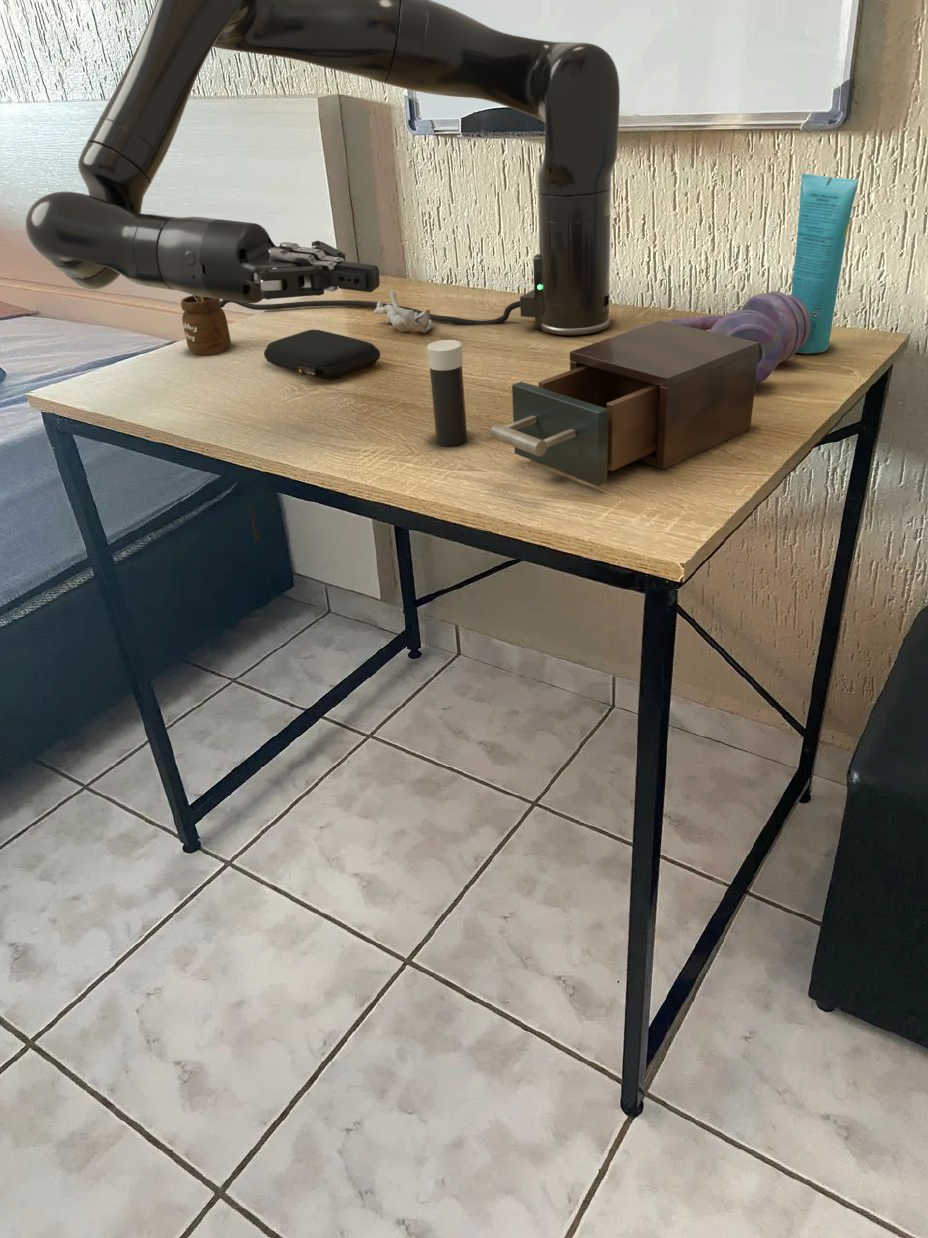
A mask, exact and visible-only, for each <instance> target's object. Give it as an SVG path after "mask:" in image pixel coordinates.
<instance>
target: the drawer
mask: <svg viewBox="0 0 928 1238" xmlns="http://www.w3.org/2000/svg"><path fill="white" fill-rule="evenodd" d="M537 384H538V386H537V385H533V384H530V383H528V382H525V381H519V382H516V383H513V384H511V392H512V393H511V395H512V396H511V397H512V416H513V417H512V419H513V421H512V422H511V423H509V424H506V425H503V424H500V423H495V424H493V425H492V426H491V427H490V430H489V436H490V437H491V439H493V440H496V441H498V442H501V443H503V444H506V445H508V446H511V447H513V448H514V454H515V455H518V456H520V457H523V458H524V459H525V458H526V459H528V460H531V461H533V462H535V463H538V464H540V465H543V466H546V467H548V468H550V469H553V470H556V471H558V472H561V473H563V474H566V475H568V476H571V477H574V478H576V479H579V480H581V481H584V482H586V483H589V484H591V485H594V486H596V487H600V486H601V485H604V484H606V483H608V471H610V472H613V471H616V470H617V469H619V468H621V467H624V466H627V465H628V464H631V463H632V462H635V461H638V460H637V459H640V458H642V457H644V456H646V455H648V454H651V453H653V452H655V451H657V441H658V420H659V398H660V386H659V385H655V384H652V383H648V382H644V381H641V380H637V379H634V378H630V377H627V376H623V375H619V374H616V373H612V372H609V371H605V370H602V369H598V368H594V367H591V366H587V365H584V366H581V367H578V368H576V369H573V370H570V369H569V370H567V371H565V372H562V373H559V374H556V375H554V376H551V377H548V378H545V379H542V380H540V381H538V383H537Z"/></svg>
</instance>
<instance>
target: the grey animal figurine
mask: <svg viewBox="0 0 928 1238" xmlns="http://www.w3.org/2000/svg"><path fill="white" fill-rule="evenodd" d="M389 293H390V302H391V304H392V305H393V306H392V305H389V304H390V303H387V304H388V305H386V306H384V307H382V305H383V303H384V302H383V301H382V300H379V301H377V302H378V303H377V308H375V309H374V310H373V314H374V315H378V314H387V315H386V316H387V318H386V319H385V323H386V324H390V323H391V325H392V326H393V327H394V328H396V329H397V331H399V332H400V333H406V332H409V331H411V330H417V331H419V332H421V333H422V334H425V333H427V332H428V331H429V330H431V328H432V326H433V324H434V322H433V320H430V319H429V318H430V314H431V309H430V308H428V309H426V310H423V311H422V313H420V314H418V313H417V312H414V311H413V310H407V309H403V308H400V307H399V306H400V305H399V303H398V301H397V298H396V296H397V293H396V289H391V290H389Z"/></svg>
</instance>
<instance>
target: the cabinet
mask: <svg viewBox="0 0 928 1238" xmlns="http://www.w3.org/2000/svg"><path fill="white" fill-rule="evenodd" d="M664 321H665V320H658V321H655V322H652V324H651V323H648V324H649V325H647V324H645V325H646V326H643V325H642V326H643V327H640V328H637V329H634V328H633V329H634V330H632V329H631V330H629V331H626V332H622V333H620V334H617V335H614V336H611V337H608V338H606V339H602V340H599V341H596V342H594V343H592V344H588V345H585V346H583V347H579V348H576V349H574V350H571V351H569V371H570V370H573V369H576V368H578V367H581V366H584V365H587V366H591V367H594V368H598V369H602V370H605V371H609V372H612V373H616V374H619V375H623V376H627V377H630V378H634V379H637V380H641V381H644V382H648V383H652V384H655V385H659V386H660V398H659V420H658V441H657V451H655V452H653V453H651V454H648V455H646V456H644V457H642V458H640V459H637V460H636V461H638V462H641V463H645V464H647V465H649V466H652V467H655V468H657V469H660V470H666V469H668V468H671V467H673V466H674V465H677V464H679V463H681V462H683V461H685V460H687V459H689V458H691V457H694V456H696V455H698V454H700V453H702V452H705V451H707V450H709V449H710V448H712V447H714V446H717V445H720V444H721V443H724V442H726V441H727V440H730V439H732V438H734V437H737V436H738V435H741V434H742V433H745V432H747V431H749V430H750V429H751V426H752V416H753V408H754V399H755V389H756V385H755V380H756V370H757V360H758V351H759V342H755V341H751V340H746V339H742V338H737V337H732V336H728V335H723V334H719V333H714V332H710V330H701V329H696V328H692V327H687V326H682V325H678V324H673V323H669V322H664Z"/></svg>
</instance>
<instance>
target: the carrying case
mask: <svg viewBox="0 0 928 1238" xmlns="http://www.w3.org/2000/svg"><path fill="white" fill-rule="evenodd" d="M263 356H264V359H266V362H268V363H271V364H272V365H274V366H275V367H279V368H283V369H286V370H289V371H292V372H296V373H298V374H299V375H301V376H309V377H313V378H316V379H320V380H324V381H336V380H339V379H343V378H345V377H348V376H349V375H350V376H351V375H354V374H356V373H359V372H362V371H364V370H367V369H370V368H373V367H374V366H375V365H376V364H377V363H378V361H379V359H380V358H381V351H380V350H379V348H377V347H376V345H374V344H373V343H372V342H369V341H366V340H361V339H357V338H354V337H350V336H347V335H342V334H339V333H334V332H330V331H327V330H326V331H325V330H321V329H307V330H305V331H302V332H301V331H300V332H299V333H295V334H292V335H289V336H286V337H282V338H280V339H276V340H273V341H271V342H269V343H268V344H267V345H266V348H265V349H264V352H263Z"/></svg>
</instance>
